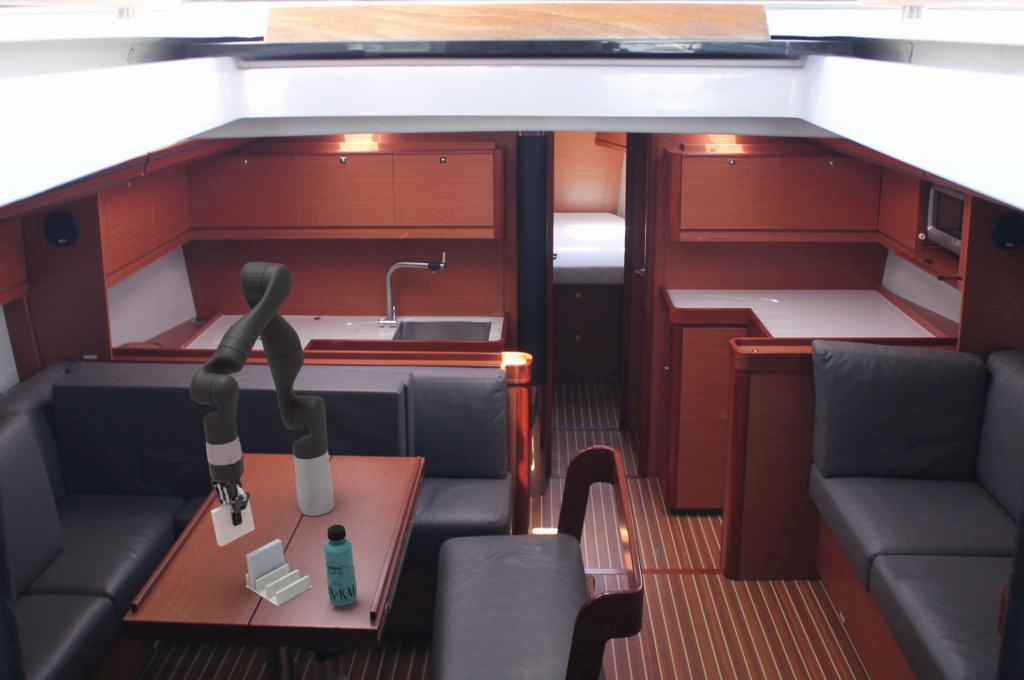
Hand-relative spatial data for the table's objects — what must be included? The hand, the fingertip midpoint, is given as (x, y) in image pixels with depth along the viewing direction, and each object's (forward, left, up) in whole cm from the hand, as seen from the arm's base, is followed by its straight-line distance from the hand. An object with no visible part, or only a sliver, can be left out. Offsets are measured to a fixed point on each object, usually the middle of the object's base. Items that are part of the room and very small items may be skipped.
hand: (235, 522), depth 225 cm
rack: (+7, +5, -18) cm, 20 cm away
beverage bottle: (+24, +11, -18) cm, 32 cm away
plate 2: (+3, +5, -17) cm, 18 cm away
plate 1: (0, 0, -4) cm, 4 cm away
